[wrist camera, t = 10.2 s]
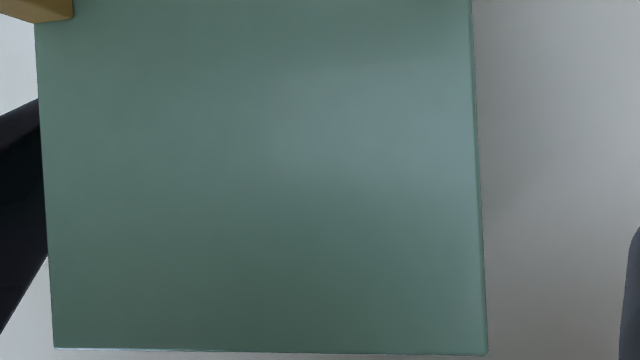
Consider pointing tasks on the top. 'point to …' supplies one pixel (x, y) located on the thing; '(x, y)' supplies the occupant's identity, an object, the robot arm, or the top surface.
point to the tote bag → (261, 175)
